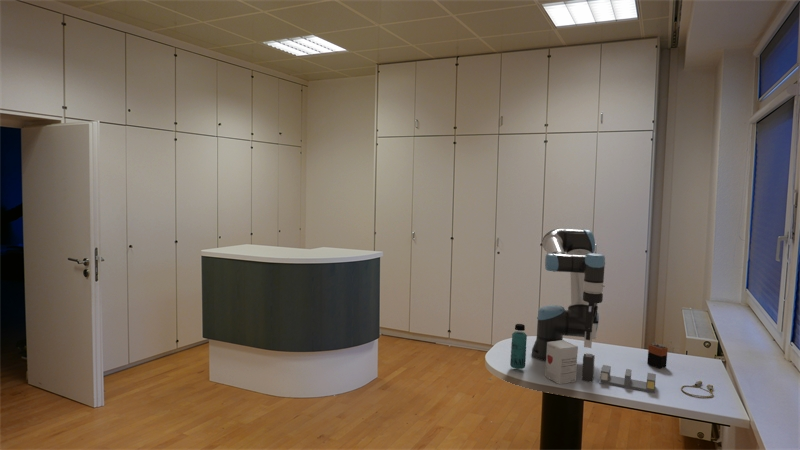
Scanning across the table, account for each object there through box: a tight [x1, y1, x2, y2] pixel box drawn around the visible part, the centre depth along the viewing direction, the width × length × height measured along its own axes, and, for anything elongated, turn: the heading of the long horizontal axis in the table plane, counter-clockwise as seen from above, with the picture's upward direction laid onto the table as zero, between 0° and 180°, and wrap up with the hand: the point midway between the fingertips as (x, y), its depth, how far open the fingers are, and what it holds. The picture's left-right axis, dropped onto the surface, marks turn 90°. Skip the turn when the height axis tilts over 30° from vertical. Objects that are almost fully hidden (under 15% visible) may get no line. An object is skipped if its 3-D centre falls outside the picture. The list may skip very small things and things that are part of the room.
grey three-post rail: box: [599, 364, 657, 394], centre depth 213 cm, size 20×8×5 cm, turn 63°
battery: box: [647, 342, 668, 369], centre depth 236 cm, size 4×7×10 cm, turn 27°
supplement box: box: [544, 339, 579, 385], centre depth 217 cm, size 9×9×15 cm
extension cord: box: [680, 380, 714, 399], centre depth 209 cm, size 12×16×2 cm
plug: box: [581, 352, 596, 383], centre depth 217 cm, size 4×4×11 cm
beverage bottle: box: [509, 323, 528, 370], centre depth 226 cm, size 6×7×20 cm
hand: (589, 343), depth 216 cm, fingers open, 13 cm apart
